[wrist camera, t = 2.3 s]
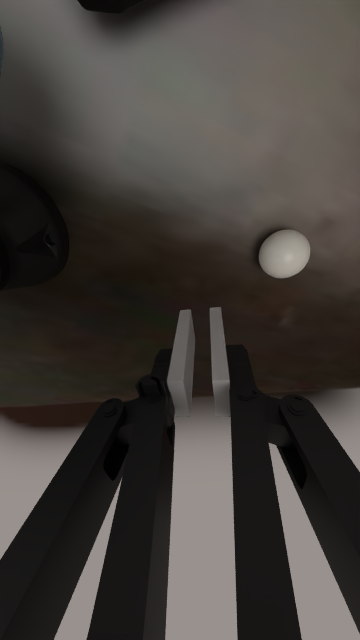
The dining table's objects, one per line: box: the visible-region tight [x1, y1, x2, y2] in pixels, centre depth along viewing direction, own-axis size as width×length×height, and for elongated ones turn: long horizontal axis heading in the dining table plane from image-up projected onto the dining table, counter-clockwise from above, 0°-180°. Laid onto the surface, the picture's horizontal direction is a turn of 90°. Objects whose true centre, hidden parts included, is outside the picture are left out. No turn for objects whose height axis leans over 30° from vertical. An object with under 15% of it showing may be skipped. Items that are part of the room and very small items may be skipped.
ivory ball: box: [259, 230, 310, 278], centre depth 26 cm, size 6×6×6 cm
